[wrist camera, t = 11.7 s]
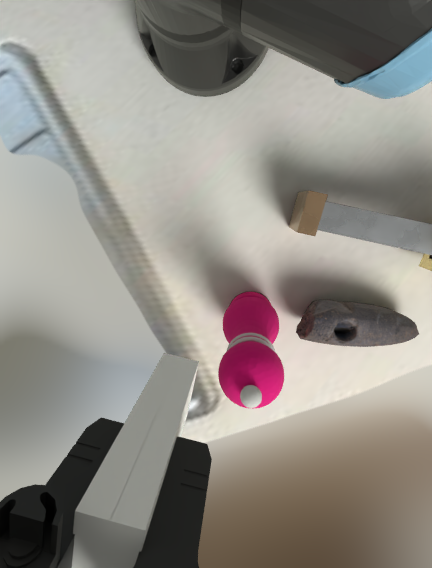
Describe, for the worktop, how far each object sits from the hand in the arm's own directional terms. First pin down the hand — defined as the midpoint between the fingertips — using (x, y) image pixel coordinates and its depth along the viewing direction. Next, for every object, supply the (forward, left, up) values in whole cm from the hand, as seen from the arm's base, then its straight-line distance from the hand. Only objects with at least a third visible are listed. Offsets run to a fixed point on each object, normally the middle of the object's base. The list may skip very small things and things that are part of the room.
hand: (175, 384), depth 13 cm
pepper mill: (+7, +5, -30) cm, 31 cm away
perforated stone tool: (+4, +18, -30) cm, 35 cm away
